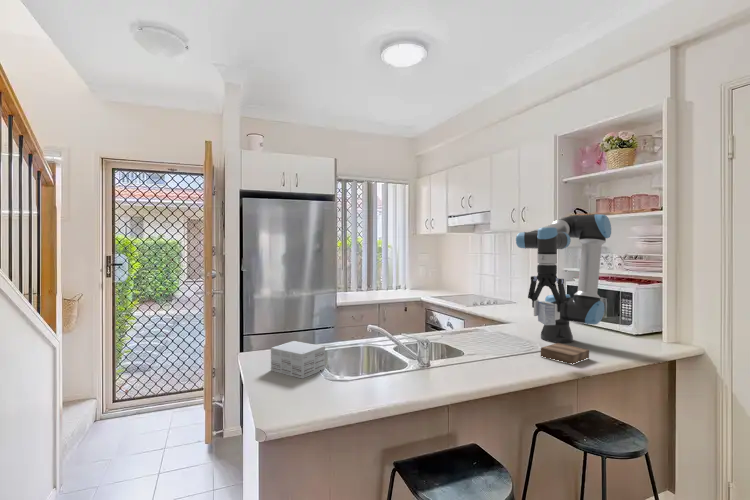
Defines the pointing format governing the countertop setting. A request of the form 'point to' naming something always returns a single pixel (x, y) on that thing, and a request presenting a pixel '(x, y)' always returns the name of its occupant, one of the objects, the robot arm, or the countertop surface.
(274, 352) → the supplement box
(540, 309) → the medicine box
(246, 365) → the countertop surface
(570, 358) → the walnut base block
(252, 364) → the countertop surface
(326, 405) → the countertop surface
